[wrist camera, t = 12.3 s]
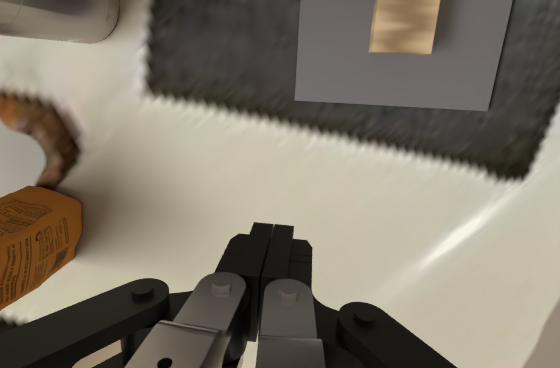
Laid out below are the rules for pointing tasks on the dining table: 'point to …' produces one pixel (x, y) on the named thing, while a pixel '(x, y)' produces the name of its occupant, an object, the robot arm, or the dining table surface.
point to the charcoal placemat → (400, 56)
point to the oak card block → (403, 26)
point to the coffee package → (35, 239)
